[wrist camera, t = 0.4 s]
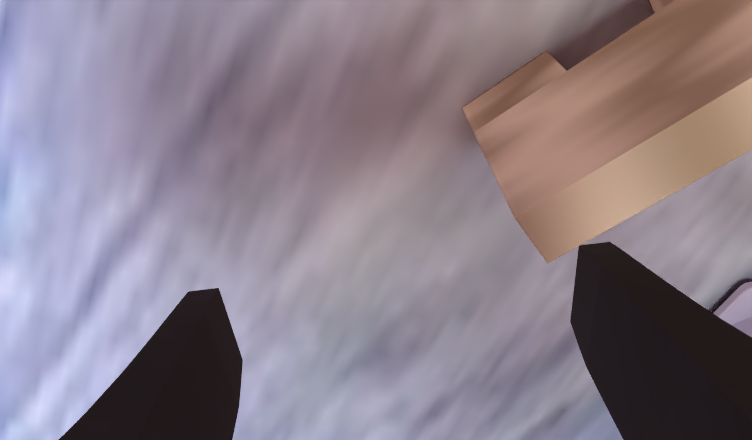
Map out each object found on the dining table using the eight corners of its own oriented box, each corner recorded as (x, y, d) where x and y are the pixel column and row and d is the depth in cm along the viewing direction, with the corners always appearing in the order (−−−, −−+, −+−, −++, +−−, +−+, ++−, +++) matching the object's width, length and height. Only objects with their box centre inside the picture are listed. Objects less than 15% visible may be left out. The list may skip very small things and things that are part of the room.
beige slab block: (746, -85, 17) (958, -47, 11) (762, -33, 18) (968, 28, 12) (461, 108, 20) (514, 218, 14) (487, 145, 21) (547, 263, 15)
